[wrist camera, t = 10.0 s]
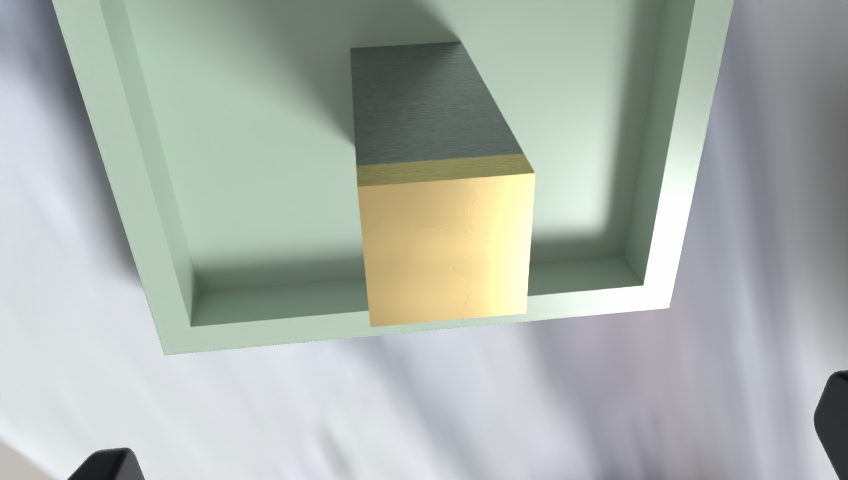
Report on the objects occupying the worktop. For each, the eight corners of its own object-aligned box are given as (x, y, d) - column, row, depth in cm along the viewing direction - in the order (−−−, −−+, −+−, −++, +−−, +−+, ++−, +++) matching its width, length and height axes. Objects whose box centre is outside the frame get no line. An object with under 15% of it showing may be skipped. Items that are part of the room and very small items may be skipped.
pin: (461, 41, 18) (534, 173, 11) (461, 143, 20) (526, 313, 13) (350, 48, 18) (357, 186, 11) (359, 151, 19) (370, 327, 13)
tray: (722, -210, 16) (778, -214, 14) (639, 264, 24) (668, 307, 22) (40, -187, 15) (-9, -188, 13) (180, 305, 22) (164, 355, 20)
